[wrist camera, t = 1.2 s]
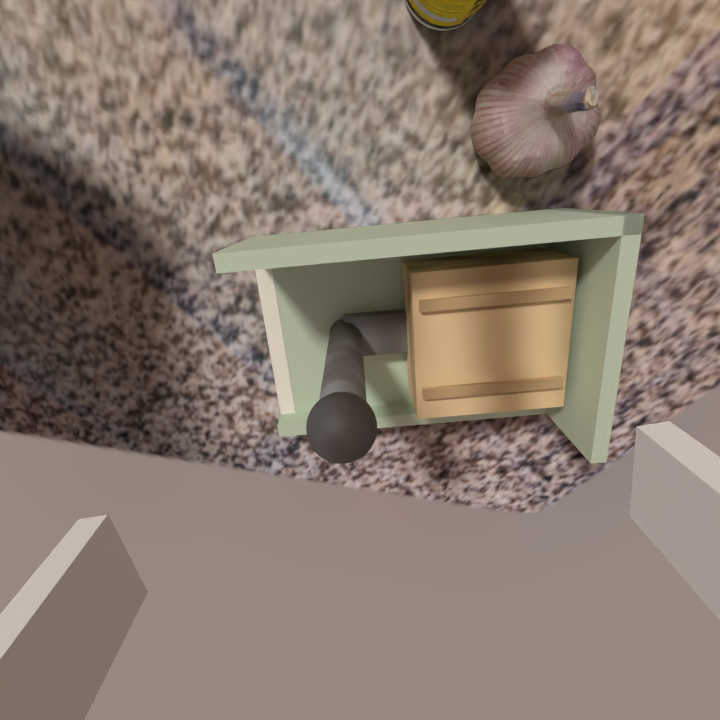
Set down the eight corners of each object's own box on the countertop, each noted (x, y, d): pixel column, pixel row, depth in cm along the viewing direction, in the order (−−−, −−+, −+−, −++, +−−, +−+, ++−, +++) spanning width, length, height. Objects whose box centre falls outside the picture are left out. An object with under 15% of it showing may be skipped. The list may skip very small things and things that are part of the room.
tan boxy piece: (332, 396, 34) (318, 545, 19) (316, 268, 30) (284, 337, 16) (533, 379, 33) (668, 516, 19) (543, 247, 30) (719, 297, 15)
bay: (284, 420, 35) (263, 491, 27) (251, 237, 30) (212, 253, 22) (545, 398, 35) (606, 462, 27) (561, 207, 30) (644, 213, 21)
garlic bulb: (602, 92, 27) (697, 54, 20) (540, 202, 30) (603, 205, 22) (502, 33, 26) (562, -32, 18) (445, 154, 28) (479, 139, 21)
